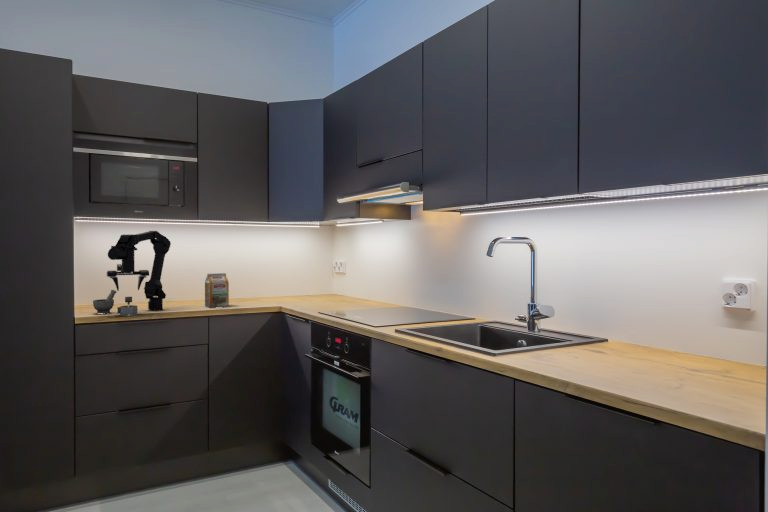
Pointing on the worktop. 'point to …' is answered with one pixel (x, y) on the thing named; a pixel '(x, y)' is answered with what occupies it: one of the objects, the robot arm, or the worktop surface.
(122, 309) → the blue-grey block
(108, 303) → the mortar and pestle
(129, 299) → the plunger
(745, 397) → the worktop surface
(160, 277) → the robot arm
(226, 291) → the printed carton
